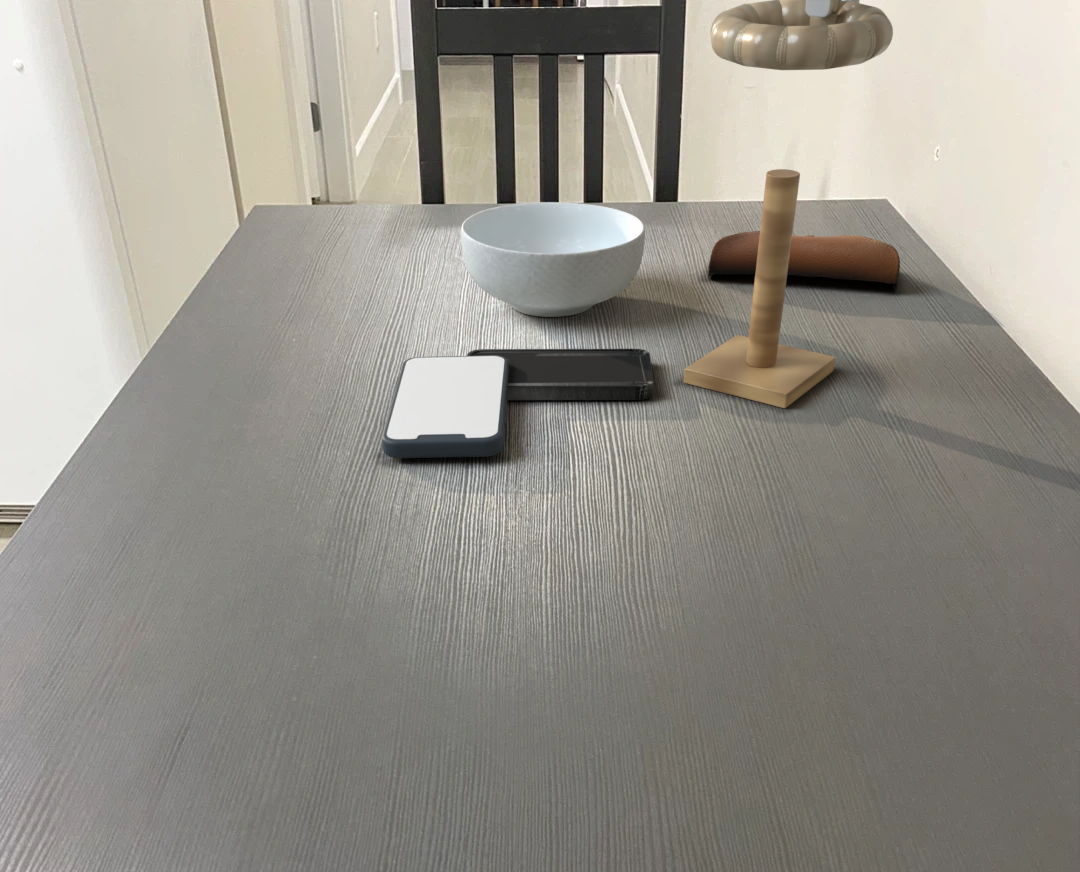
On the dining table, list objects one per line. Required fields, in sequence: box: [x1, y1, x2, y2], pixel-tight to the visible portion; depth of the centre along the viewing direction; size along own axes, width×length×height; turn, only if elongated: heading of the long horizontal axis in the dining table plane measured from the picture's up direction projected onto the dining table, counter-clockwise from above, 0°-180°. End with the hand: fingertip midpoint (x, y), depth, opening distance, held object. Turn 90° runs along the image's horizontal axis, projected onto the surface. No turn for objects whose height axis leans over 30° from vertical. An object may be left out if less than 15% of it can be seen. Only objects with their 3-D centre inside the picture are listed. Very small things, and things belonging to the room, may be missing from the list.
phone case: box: [381, 355, 509, 459], centre depth 83 cm, size 9×2×16 cm
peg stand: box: [683, 168, 837, 409], centre depth 84 cm, size 9×9×15 cm
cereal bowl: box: [460, 201, 646, 318], centre depth 100 cm, size 17×17×7 cm
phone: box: [466, 348, 654, 401], centre depth 88 cm, size 8×1×15 cm
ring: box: [710, 0, 894, 71], centre depth 73 cm, size 12×12×2 cm
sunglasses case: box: [707, 230, 901, 291], centre depth 106 cm, size 18×7×7 cm
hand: (831, 12), depth 75 cm, fingers closed on ring, 2 cm apart
